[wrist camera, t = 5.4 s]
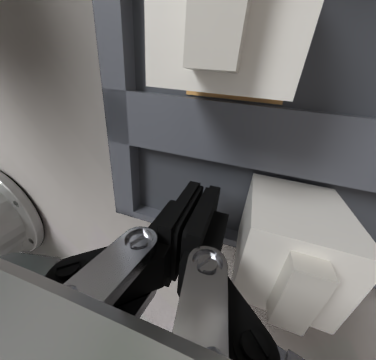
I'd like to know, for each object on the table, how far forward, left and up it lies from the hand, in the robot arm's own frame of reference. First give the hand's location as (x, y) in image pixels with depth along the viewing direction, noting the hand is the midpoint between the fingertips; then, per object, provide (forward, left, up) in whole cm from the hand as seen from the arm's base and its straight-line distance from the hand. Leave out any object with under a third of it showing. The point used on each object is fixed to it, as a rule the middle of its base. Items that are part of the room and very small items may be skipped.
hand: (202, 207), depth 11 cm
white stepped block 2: (0, -4, -2) cm, 5 cm away
